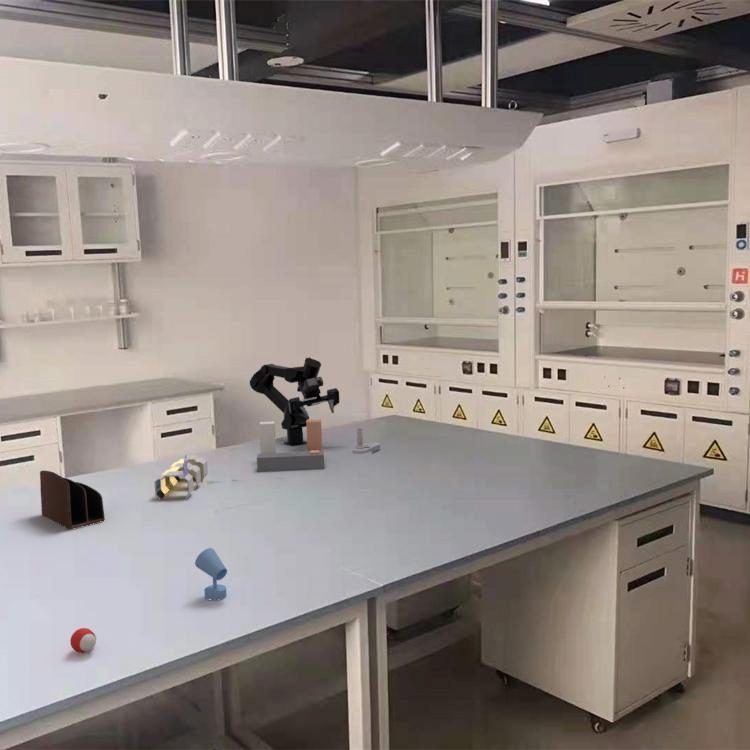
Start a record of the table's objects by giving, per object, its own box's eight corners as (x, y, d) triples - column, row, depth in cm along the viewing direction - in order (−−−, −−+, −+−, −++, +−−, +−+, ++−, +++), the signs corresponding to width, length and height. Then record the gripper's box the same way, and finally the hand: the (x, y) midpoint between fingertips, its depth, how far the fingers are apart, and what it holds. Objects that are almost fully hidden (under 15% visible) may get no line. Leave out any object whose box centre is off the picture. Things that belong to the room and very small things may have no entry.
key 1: (262, 461, 276) (260, 421, 274) (276, 460, 277) (274, 421, 275) (261, 464, 272) (259, 424, 270) (275, 463, 273) (273, 423, 271)
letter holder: (69, 531, 213) (65, 479, 211) (41, 515, 227) (37, 467, 226) (105, 522, 220) (101, 472, 218) (75, 507, 234) (71, 460, 232)
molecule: (66, 652, 145) (64, 630, 144) (90, 642, 148) (88, 620, 148) (82, 660, 142) (80, 637, 141) (106, 649, 145) (104, 627, 145)
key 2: (308, 459, 277) (306, 419, 275) (322, 458, 278) (320, 419, 276) (308, 462, 273) (306, 422, 271) (322, 461, 274) (321, 421, 272)
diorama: (189, 500, 238) (187, 457, 237) (155, 501, 238) (152, 458, 237) (208, 478, 263) (205, 439, 261) (177, 478, 263) (174, 440, 261)
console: (261, 463, 278) (260, 445, 277) (324, 460, 280) (323, 442, 279) (257, 475, 263) (256, 456, 262) (324, 472, 264) (323, 453, 263)
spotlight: (194, 595, 168) (215, 603, 163) (191, 550, 166) (212, 557, 162) (213, 587, 172) (234, 595, 167) (210, 543, 170) (231, 550, 166)
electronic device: (381, 424, 295) (362, 430, 281) (382, 450, 296) (363, 458, 282) (368, 423, 297) (349, 429, 284) (369, 449, 298) (350, 456, 285)
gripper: (282, 378, 289) (294, 404, 278) (331, 367, 294) (345, 392, 283) (285, 401, 296) (296, 427, 285) (332, 390, 301) (345, 415, 290)
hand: (321, 415), depth 285 cm, fingers open, 9 cm apart
